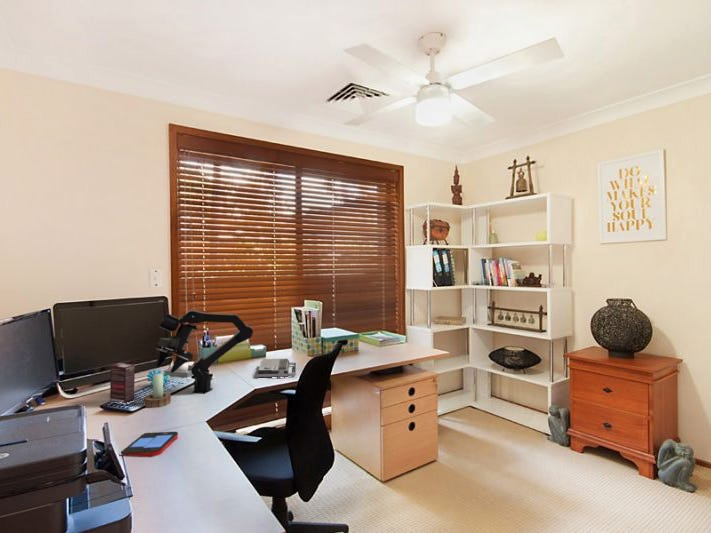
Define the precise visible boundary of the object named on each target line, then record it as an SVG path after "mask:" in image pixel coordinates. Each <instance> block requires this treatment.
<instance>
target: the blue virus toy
mask: <svg viewBox="0 0 711 533" xmlns="http://www.w3.org/2000/svg"><path fill="white" fill-rule="evenodd" d="M161 372H162V370H161V369H158V370H157V369H155V368H154V369H153V370H150V371H149V372H148V374H147V376H146V377H148V378H147V382H150V385H151V386H152V385H153V375H154V374H158V373H161ZM162 374H164V377H163V385H166V384H167V383H168V382H169V380H168V379H169V378H170V376H169V375H167V376H165V373H164V371H163V372H162ZM166 386H167V385H166Z"/></svg>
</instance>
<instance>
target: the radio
mask: <svg viewBox="0 0 711 533" xmlns="http://www.w3.org/2000/svg"><path fill="white" fill-rule="evenodd" d="M290 366H294V367H293V372H289V371H290V370H289V369H290ZM296 366H297V362H290V360H289V358H262V359H261V361H260V363H259V367H258V370H257V371H256V379H257V378H267V379H273V378H272V377H288V378H289V377H293V376H295V377H296V375H297V373H296V368H297V367H296Z"/></svg>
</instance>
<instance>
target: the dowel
mask: <svg viewBox="0 0 711 533" xmlns="http://www.w3.org/2000/svg"><path fill="white" fill-rule="evenodd" d="M157 373H158V372H157ZM162 373H163V372H162ZM162 373H161V372H160V373H158V374H154V373H153V374H154V375H153V381H152V382H153V386H152V394H153V399H158V398H163V392H164V386H163V377H164V376H165V375H164V374H162Z"/></svg>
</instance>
